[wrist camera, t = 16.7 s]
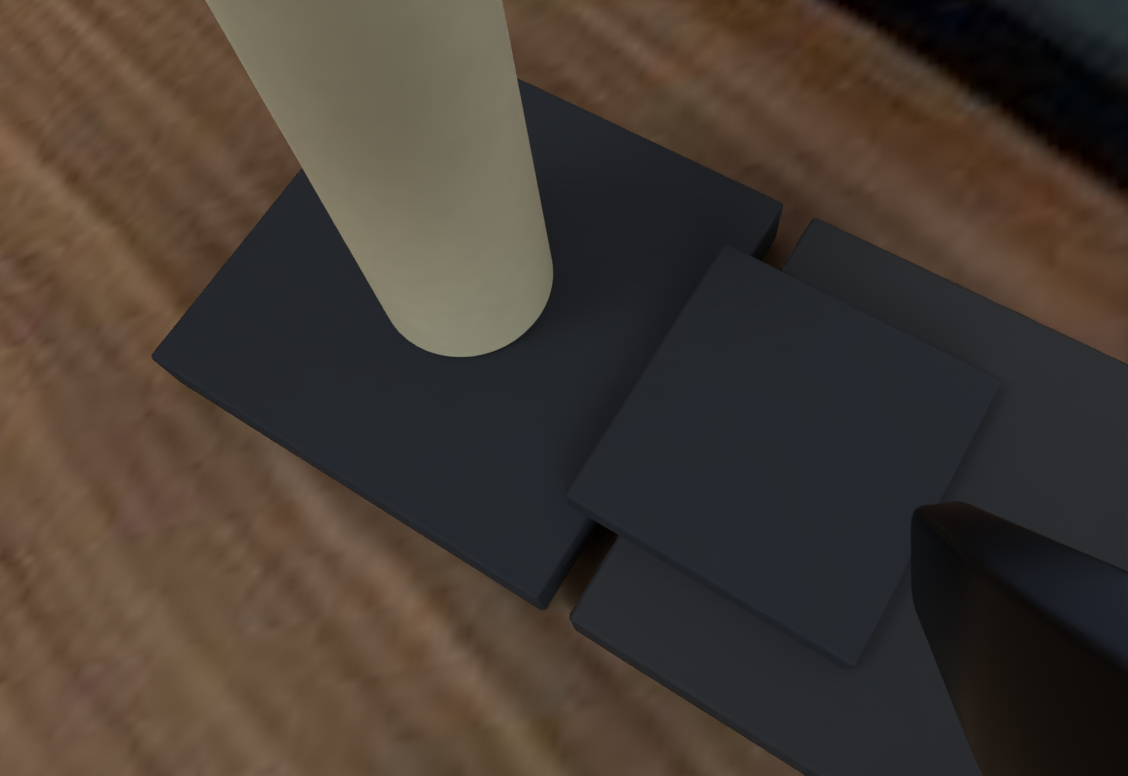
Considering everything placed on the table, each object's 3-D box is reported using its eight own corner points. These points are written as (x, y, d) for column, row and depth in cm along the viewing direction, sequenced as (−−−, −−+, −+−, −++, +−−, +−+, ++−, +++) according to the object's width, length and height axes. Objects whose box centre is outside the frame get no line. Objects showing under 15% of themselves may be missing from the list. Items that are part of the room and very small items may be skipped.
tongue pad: (1004, 346, 17) (1868, -675, 5) (787, 766, 15) (1374, 756, 3) (426, 68, 20) (94, -970, 8) (179, 381, 18) (-764, -394, 6)
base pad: (1378, 525, 16) (1436, 507, 14) (1195, 1021, 13) (1244, 1044, 12) (803, 248, 18) (814, 214, 17) (572, 629, 16) (567, 617, 15)
